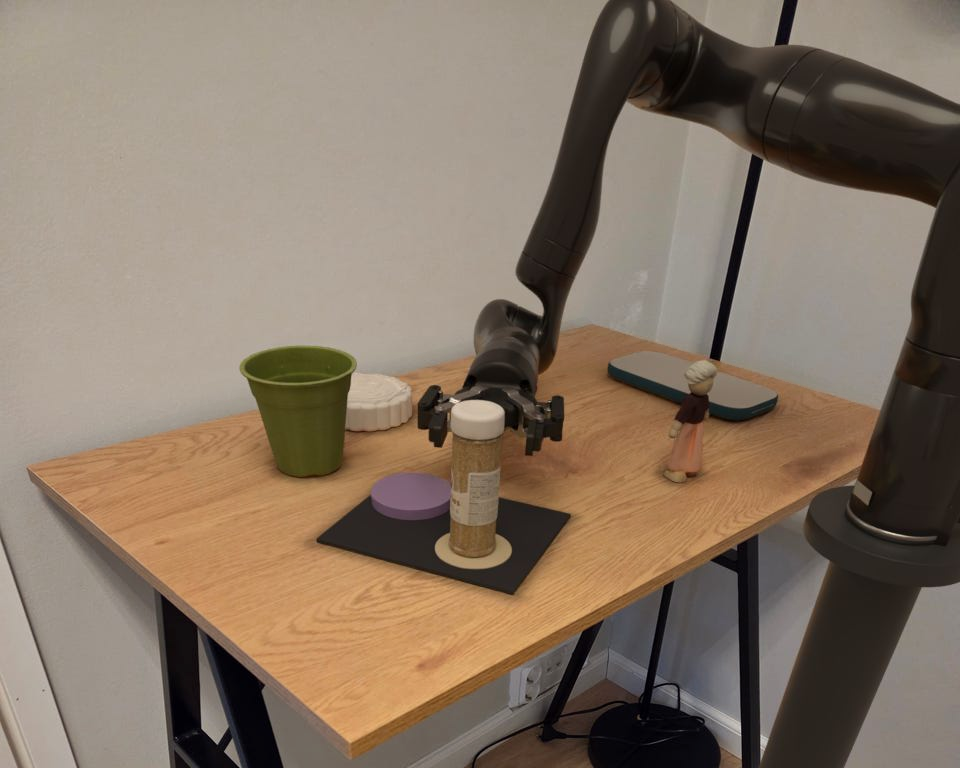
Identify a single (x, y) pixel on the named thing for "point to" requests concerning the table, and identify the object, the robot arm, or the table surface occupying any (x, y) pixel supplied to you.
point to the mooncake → (377, 402)
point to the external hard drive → (669, 381)
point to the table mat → (428, 548)
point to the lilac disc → (411, 496)
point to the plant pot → (302, 404)
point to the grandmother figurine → (691, 423)
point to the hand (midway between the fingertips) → (483, 442)
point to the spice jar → (475, 476)
